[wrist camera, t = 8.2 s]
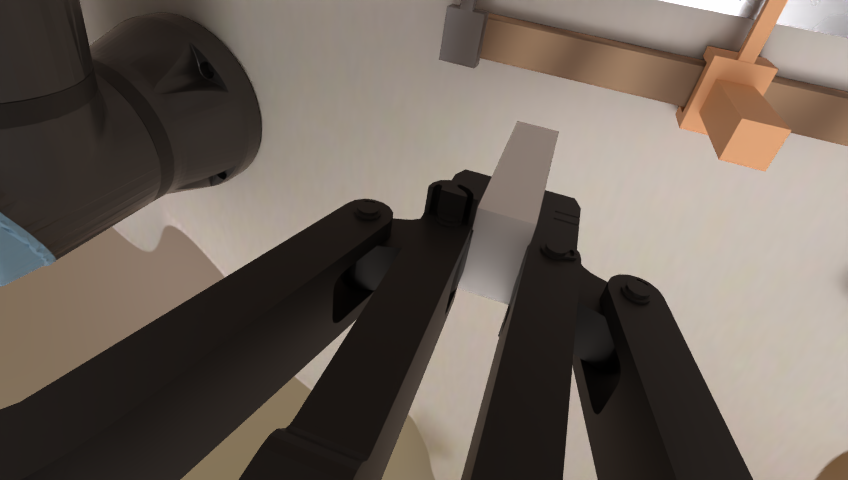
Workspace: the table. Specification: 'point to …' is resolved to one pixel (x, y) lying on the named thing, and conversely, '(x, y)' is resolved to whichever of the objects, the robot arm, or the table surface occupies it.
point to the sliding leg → (739, 99)
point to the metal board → (786, 12)
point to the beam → (624, 67)
